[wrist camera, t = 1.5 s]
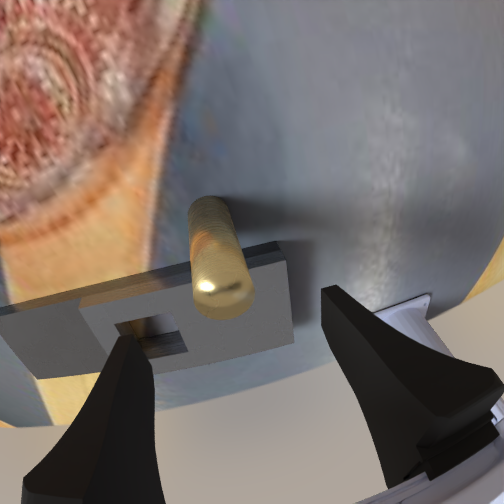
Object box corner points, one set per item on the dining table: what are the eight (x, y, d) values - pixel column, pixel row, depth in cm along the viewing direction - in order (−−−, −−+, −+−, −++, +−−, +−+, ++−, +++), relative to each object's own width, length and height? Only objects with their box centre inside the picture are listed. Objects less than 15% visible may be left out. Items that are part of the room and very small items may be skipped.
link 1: (215, 339, 26) (217, 350, 25) (40, 370, 25) (37, 379, 24) (189, 261, 22) (190, 271, 21) (-7, 309, 20) (-11, 318, 19)
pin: (232, 228, 21) (258, 312, 14) (193, 237, 21) (202, 325, 14) (224, 191, 19) (249, 265, 13) (183, 201, 19) (186, 280, 13)
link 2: (286, 321, 26) (294, 342, 24) (126, 357, 25) (125, 379, 23) (276, 240, 22) (285, 260, 20) (85, 286, 21) (78, 308, 19)
